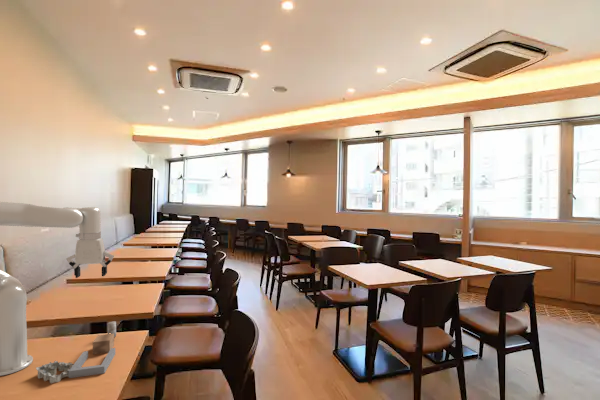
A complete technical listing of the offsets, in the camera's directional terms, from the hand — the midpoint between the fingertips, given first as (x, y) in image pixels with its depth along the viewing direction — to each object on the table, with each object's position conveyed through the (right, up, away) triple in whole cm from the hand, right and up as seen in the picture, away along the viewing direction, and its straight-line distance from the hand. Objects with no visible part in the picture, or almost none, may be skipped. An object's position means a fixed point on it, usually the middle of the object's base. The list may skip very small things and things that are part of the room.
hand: (91, 276), depth 134 cm
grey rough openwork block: (+3, -30, -23) cm, 38 cm away
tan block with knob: (+8, -29, -1) cm, 30 cm away
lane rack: (+12, -29, -16) cm, 35 cm away
